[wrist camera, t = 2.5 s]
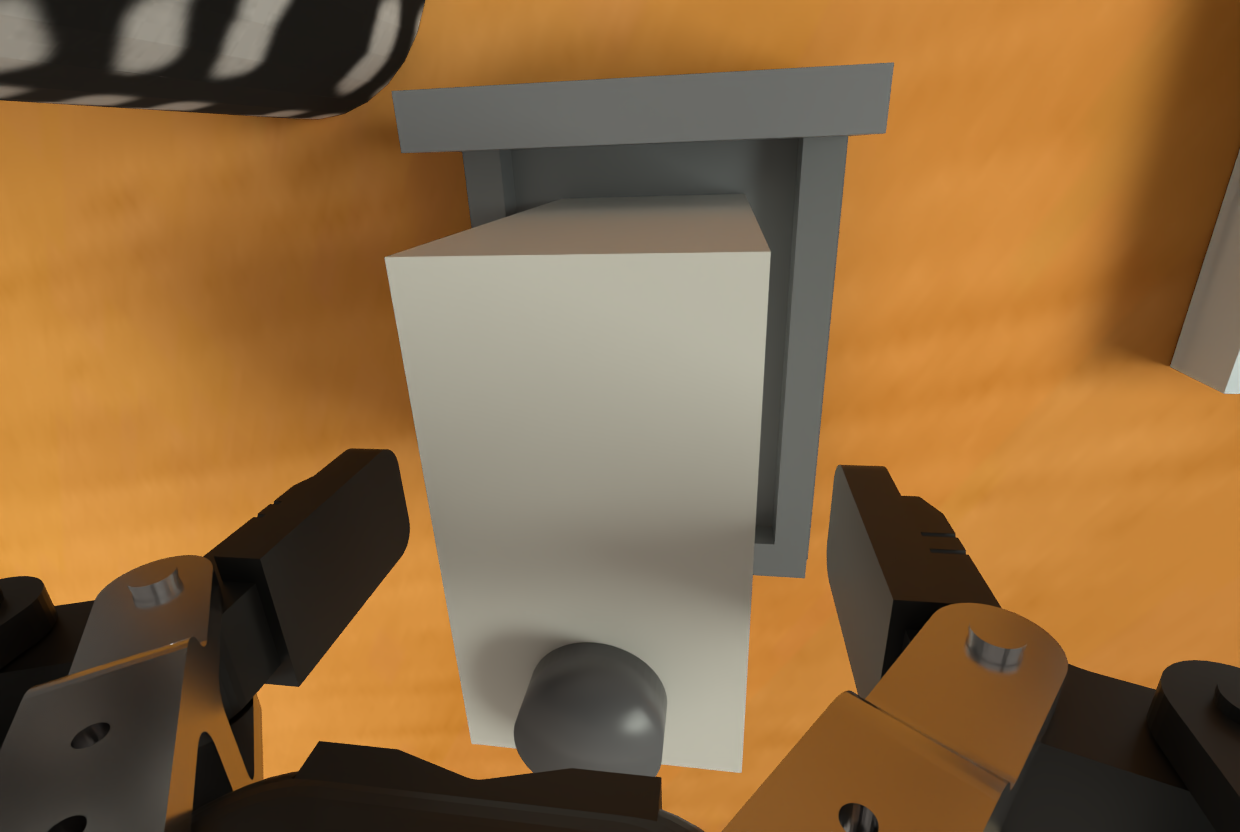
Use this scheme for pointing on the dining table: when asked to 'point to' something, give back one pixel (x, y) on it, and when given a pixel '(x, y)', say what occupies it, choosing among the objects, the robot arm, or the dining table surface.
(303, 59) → the white-spotted black cylinder
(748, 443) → the white block with knob
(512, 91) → the bay
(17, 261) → the dining table surface
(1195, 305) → the tray
